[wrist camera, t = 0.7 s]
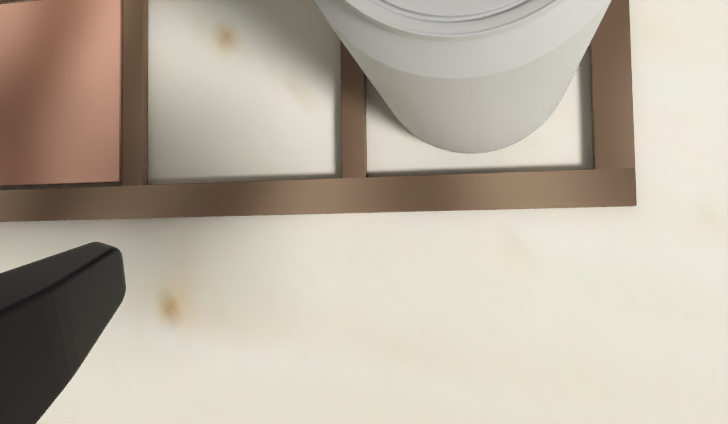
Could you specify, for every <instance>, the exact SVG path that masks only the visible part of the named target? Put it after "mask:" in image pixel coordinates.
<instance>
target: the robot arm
mask: <svg viewBox="0 0 728 424" xmlns="http://www.w3.org/2000/svg"><path fill="white" fill-rule="evenodd" d="M125 291H126V283H125V274H124V266H123V258H122V253H121V252H120V250H119V249H117V248H116V247H113V246H110V245H106V244H103V243H100V242H92V243H89V244H86V245H83V246H80V247H77V248H74V249H71V250H68V251H65V252H62V253H59V254H56V255H53V256H50V257H47V258H44V259H42V260H39V261H36V262H33V263H30V264H27V265H24V266H21V267H18V268H15V269H12V270H9V271H6V272H3V273H0V424H36V423H37V421H38V420H39V419H40V418H41V416H42V415H43V414H44V413H45V412H46V410H47V409H48V408H49V407H50V405H51V404H52V403H53V402H54V400H55V399H56V398H57V397H58V395H59V394H60V393H61V392H62V390H63V389H64V388H65V387H66V385H67V384H68V383H69V381H70V380H71V379H72V377H73V376H74V374H75V373H76V372H77V370H78V369H79V367H80V366H81V364H82V363H83V361H84V360H85V358H86V357H87V355H88V354H89V352H90V350H91V349H92V347H93V346H94V344H95V343H96V341H97V340H98V338H99V337H100V335H101V334H102V332H103V330H104V329H105V327H106V326H107V324H108V323H109V321H110V320H111V318H112V317H113V315H114V314H115V312H116V310H117V309H118V307H119V306H120V304H121V303H122V301H123V298H124V296H125Z"/></svg>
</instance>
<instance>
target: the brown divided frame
mask: <svg viewBox="0 0 728 424" xmlns="http://www.w3.org/2000/svg"><path fill="white" fill-rule="evenodd" d="M12 1H22V0H0V3H1V2H12ZM590 73H591V103H592V133H593V162H594V169H590V170H562V171H533V172H505V173H476V174H448V175H420V176H391V177H367V142H366V75H365V73H364V72H363V70H362V69H361V68H360V66H359V65H358V63H357V62H356V61H355V59H354V58H353V56H352V55H351V54H350V52H349V51H348V49H347V48H346V47H345V45H344V44H343V42H342V41H341V116H342V178H334V179H306V180H277V181H249V182H221V183H192V184H164V185H148V0H39V1H28V2H18V3H8V4H0V186H22V185H50V184H77V183H105V182H122V186H107V187H78V188H50V189H22V190H0V222H10V221H51V220H91V219H132V218H172V217H213V216H253V215H294V214H334V213H375V212H415V211H456V210H496V209H537V208H577V207H618V206H636V179H635V152H634V125H633V98H632V71H631V44H630V17H629V0H611V2H610V4H609V6H608V8H607V10H606V12H605V14H604V16H603V18H602V20H601V22H600V24H599V26H598V28H597V30H596V32H595V34H594V36H593V38H592V40H591V42H590Z"/></svg>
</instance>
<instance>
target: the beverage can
mask: <svg viewBox="0 0 728 424" xmlns="http://www.w3.org/2000/svg"><path fill="white" fill-rule="evenodd" d="M314 2H315V4H316V5H317V7H318V8H319V10H320V11H321V13H322V14H323V16H324V17H325V19H326V20H327V21H328V23H329V24H330V26H331V27H332V28H333V30H334V31H335V33H336V34H337V35H338V37H339V38H340V40H341V41H342V42H343V44H344V45H345V47H346V48H347V49H348V51H349V52H350V54H351V55H352V56H353V58H354V59H355V61H356V62H357V63H358V65H359V66H360V68H361V69H362V70H363V72H364V73H365V75H366V76H367V77H368V79H369V80H370V82H371V83H372V84H373V86H374V87H375V89H376V90H377V91H378V93H379V94H380V96H381V97H382V98H383V100H384V101H385V103H386V104H387V105H388V107H389V108H390V110H391V111H392V112H393V114H394V115H395V116H396V118H397V119H398V120H399V121H400V122H401V124H402V125H403V126H404V127H405V128H406V129H407V130H408V131H410V132H411V133H412V134H414V135H415V136H416V137H418V138H419V139H421V140H423V141H424V142H426V143H428V144H430V145H433V146H435V147H437V148H440V149H444V150H447V151H451V152H458V153H469V154H470V153H485V152H490V151H495V150H498V149H502V148H505V147H507V146H510V145H512V144H514V143H516V142H519V141H520V140H522V139H524V138H525V137H527V136H528V135H530V134H531V133H533V132H534V131H535V130H536V129H538V128H539V127H540V126H541V125H542V124H543V123H544V122H545V121H546V120H547V119H548V118H549V117H550V115H551V114H552V113H553V112H554V110H555V109H556V107H557V106H558V104H559V103H560V101H561V99H562V97H563V95H564V93H565V91H566V89H567V87H568V85H569V83H570V81H571V79H572V78H573V76H574V74H575V72H576V70H577V68H578V66H579V64H580V62H581V60H582V58H583V56H584V54H585V52H586V50H587V48H588V46H589V44H590V42H591V40H592V38H593V36H594V34H595V32H596V30H597V28H598V26H599V24H600V22H601V20H602V18H603V16H604V14H605V12H606V10H607V8H608V6H609V4H610V2H611V0H314Z"/></svg>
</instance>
